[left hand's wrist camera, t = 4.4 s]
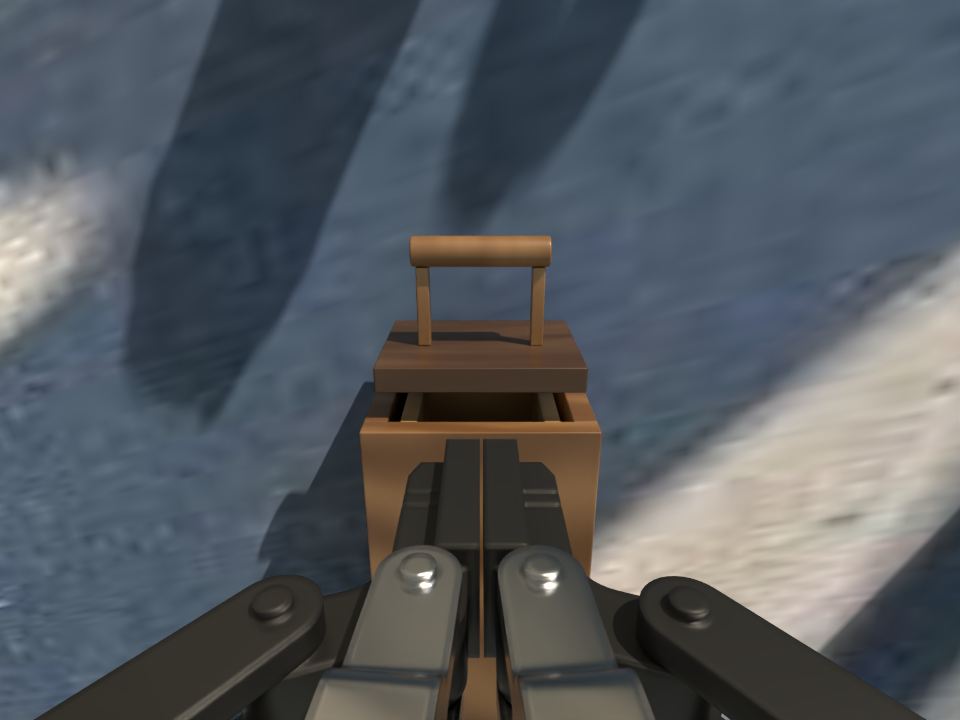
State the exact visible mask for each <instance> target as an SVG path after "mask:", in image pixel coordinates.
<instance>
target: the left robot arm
mask: <svg viewBox="0 0 960 720" xmlns="http://www.w3.org/2000/svg"><path fill="white" fill-rule="evenodd" d="M483 608H484V658H496V706H497V715H498V720H725V719H724V718H722V717H721V715H722V713H723V714H724V715H725V716H726V717H728V718H729V719H730V720H926V719H924V718H923V717H921V716H919V715H918V714H916V713H914V712H913V711H911V710H910V709H908V708H906V707H905V706H903V705H902V704H900V703H898V702H897V701H895V700H894V699H892V698H890V697H889V696H887V695H885V694H884V693H882V692H881V691H879V690H877V689H876V688H874V687H873V686H871V685H869V684H868V683H866V682H865V681H863V680H861V679H860V678H858V677H857V676H855V675H853V674H852V673H850V672H848V671H847V670H845V669H844V668H842V667H840V666H839V665H837V664H836V663H834V662H832V661H831V660H829V659H828V658H826V657H824V656H823V655H821V654H819V653H818V652H816V651H815V650H813V649H811V648H810V647H808V646H807V645H805V644H803V643H802V642H800V641H799V640H797V639H795V638H794V637H792V636H790V635H789V634H787V633H786V632H784V631H782V630H781V629H779V628H778V627H776V626H774V625H773V624H771V623H770V622H768V621H766V620H765V619H763V618H761V617H760V616H758V615H757V614H755V613H753V612H752V611H750V610H749V609H747V608H745V607H744V606H742V605H741V604H739V603H737V602H736V601H734V600H733V599H731V598H729V597H728V596H726V595H724V594H723V593H721V592H720V591H718V590H716V589H715V588H713V587H711V586H709V585H708V584H705V583H703V582H701V581H698V580H695V579H691V578H686V577H679V576H667V577H661V578H658V579H655V580H653V581H651V582H649V583H648V584H647V585H646V586H645V587H644V588H643V590H642V591H641V594H640V596H638V595H634V594H629V593H625V592H621V591H617V590H614V589H610V588H607V587H605V586H603V585H600V584H598V583H597V582H595V581H593V580H592V579H590V578H589V577H587V576H586V574H585V571H584V569H583V567H582V565H581V564H580V562H579V561H578V560H577V559H576V558H575V557H573V555H572V551H571V546H570V542H569V537H568V533H567V528H566V524H565V519H564V515H563V510H562V507H561V501H560V497H559V494H558V488H557V483H556V479H555V475H554V474H553V473H552V472H551V471H550V470H549V469H548V468H547V467H546V466H545V465H544V464H543V463H542V462H519V453H518V445H517V439H483ZM468 658H480V439H446V445H445V454H444V462H421V463H420V464H419V465H418V466H417V467H416V468H415V469H414V470H413V471H412V472H411V473H410V474H409V475H408V479H407V484H406V489H405V494H404V498H403V503H402V507H401V512H400V517H399V521H398V526H397V531H396V536H395V540H394V545H393V550H392V553H391V554H390V555H388V556H387V557H385V558H384V559H383V560H382V561H381V562H380V564H379V565H378V567H377V569H376V571H375V574H374V576H373V579H372V580H371V581H370V582H368V583H366V584H364V585H362V586H360V587H357V588H354V589H351V590H348V591H344V592H340V593H336V594H332V595H327V596H323V595H322V592H321V589H320V588H319V587H318V585H317V584H316V583H315V582H313V581H312V580H310V579H308V578H305V577H302V576H297V575H279V576H274V577H270V578H266V579H263V580H261V581H258V582H256V583H254V584H252V585H250V586H249V587H247V588H245V589H244V590H242V591H240V592H239V593H237V594H236V595H234V596H232V597H231V598H229V599H228V600H226V601H224V602H223V603H221V604H219V605H218V606H216V607H215V608H213V609H211V610H210V611H208V612H207V613H205V614H203V615H202V616H200V617H199V618H197V619H195V620H194V621H192V622H190V623H189V624H187V625H186V626H184V627H182V628H181V629H179V630H178V631H176V632H174V633H173V634H171V635H170V636H168V637H166V638H165V639H163V640H161V641H160V642H158V643H157V644H155V645H153V646H152V647H150V648H149V649H147V650H145V651H144V652H142V653H141V654H139V655H137V656H136V657H134V658H132V659H131V660H129V661H128V662H126V663H124V664H123V665H121V666H120V667H118V668H116V669H115V670H113V671H112V672H110V673H108V674H107V675H105V676H104V677H102V678H100V679H99V680H97V681H95V682H94V683H92V684H91V685H89V686H87V687H86V688H84V689H83V690H81V691H79V692H78V693H76V694H75V695H73V696H71V697H70V698H68V699H66V700H65V701H63V702H62V703H60V704H58V705H57V706H55V707H54V708H52V709H50V710H49V711H47V712H46V713H44V714H42V715H41V716H39V717H37V718H36V719H34V720H230V719H231V718H232V717H234V716H235V715H236V714H237V713H239V712H240V711H241V710H242V713H243V714H241V715H240V716H239V717H238V718H236V719H235V720H462V715H463V706H464V690H465V687H466V684H467V678H468Z"/></svg>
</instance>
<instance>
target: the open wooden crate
mask: <svg viewBox="0 0 960 720" xmlns="http://www.w3.org/2000/svg"><path fill="white" fill-rule="evenodd" d="M407 396H408V393H376V394H375V396H374V398H373V401H372V403H371V406H370V408H369V410H368V413H367V415H366V418H365V420H364V423H363V425H362V428H361V430H360V432H359V437H360V449H361V462H362V474H363V486H364V499H365V511H366V523H367V535H368V548H369V560H370V572H371V580H372V579H373V576H374V574H375V571H376V569H377V567H378V565H379V564H380V562H381V561H382V560H383V559H384V558H385V557H387V556H388V555H390V554H391V553H392V550H393V545H394V540H395V536H396V531H397V526H398V521H399V517H400V512H401V507H402V503H403V498H404V494H405V489H406V484H407V479H408V475H409V474H410V473H411V472H412V471H413V470H414V469H415V468H416V467H417V466H418V465H419V464H420V463H421V462H444V454H445V445H446V439H480V658H468V678H467V684H466V687H465V690H464V706H463V715H462V720H498V715H497V706H496V658H484V608H483V439H517V445H518V453H519V462H542V463H543V464H544V465H545V466H546V467H547V468H548V469H549V470H550V471H551V472H552V473H553V474H554V475H555V479H556V483H557V488H558V494H559V497H560V501H561V507H562V510H563V515H564V519H565V524H566V528H567V533H568V537H569V542H570V546H571V551H572V555H573V557H575V558H576V559H577V560H578V561H579V562H580V564H581V565H582V567H583V569H584V571H585V574H586V576H587V577H589V578H590V571H591V559H592V547H593V535H594V522H595V510H596V498H597V486H598V474H599V462H600V450H601V438H602V432H601V430H600V428H599V425H598V423H597V420H596V418H595V415H594V413H593V411H592V408H591V406H590V403H589V401H588V399H587V396H586V394H585V393H553V397H554V400H555V404H556V407H557V411H558V414H559V418H560V421H561V422H400V421H401V417H402V414H403V410H404V407H405V403H406V400H407Z"/></svg>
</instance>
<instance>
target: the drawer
mask: <svg viewBox="0 0 960 720" xmlns="http://www.w3.org/2000/svg"><path fill="white" fill-rule="evenodd" d="M409 254H410V263H411V266H413V267H416V269H415V270H416V296H417V321H395V323H394V326H393V328H392V330H391V332H390V334H389V336H388V338H387V340H386V343H385V345H384V347H383V349H382V351H381V353H380V355H379V357H378V360H377V362H376V364H375V366H374V368H373V374H374V388H375V392H376V393H408V396H407V400H406V403H405V407H404V410H403V414H402V417H401V421H400V422H561V421H560V418H559V414H558V411H557V407H556V404H555V400H554V397H553V393H586V389H587V375H588V368H587V366H586V364H585V362H584V359H583V357H582V355H581V353H580V351H579V349H578V347H577V345H576V343H575V340H574V338H573V336H572V334H571V332H570V330H569V328H568V326H567V324H566V322H565V321H544V298H545V273H546V268H545V267H549V266H550V264H551V257H552V242H551V237H550V236H411V238H410V244H409ZM429 267H532V276H531V307H530V321H431V306H430V274H429Z"/></svg>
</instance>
